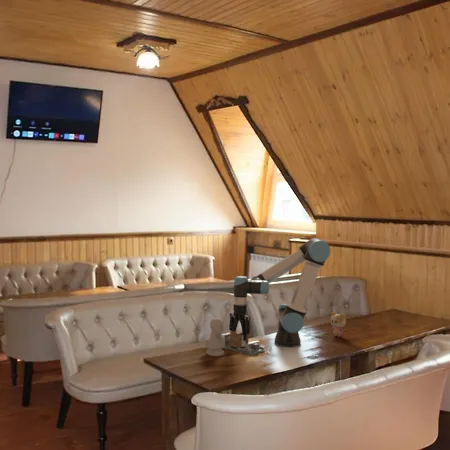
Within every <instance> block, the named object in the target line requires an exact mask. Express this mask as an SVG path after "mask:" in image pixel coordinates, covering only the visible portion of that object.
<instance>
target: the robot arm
mask: <svg viewBox="0 0 450 450" xmlns="http://www.w3.org/2000/svg"><path fill="white" fill-rule="evenodd" d="M330 255H331V248H330V246H329V244H328V243H327V242H326V241H325V240H323V239H320V238H317V237H313V238H311V239H308V240H307V241H306V242H304V243H303V244H301V245H300V246H299V247H297V250H296V251H294V252H292V253H291V254H290V255H287V256H286V257H285V258H283V259H281V260H280V261H278V262H277V263H275V264H274V265H272V266H271V267H269V268H267V269H266V270H264V271H263V272H261V273H259V274H257V275H256V276H255V275H254V276H252V277H251V278H250V279H248V276H245V275H244V276H243V275H237V276H235V277H234V281H233V305H232V306H233V309H232V310H233V312H230V313H229V327H228V330H229V331H230V332H231V331H235V330H238V329H237V328H238V324H239V323H240V326H241V329H242V332H243V334H242V340H241V346H242V347H243V346H245V343H246V340H247V334H249V335H250V333H251V332H250V331H251V329H250V320H251V316H249V315H247V311H248V309H247V308H248V306H247V304H248V295H268V294H270V293H269V292H270V284H271V283H272V282H274V281H275V280H277V279H278V278H280V277H282V276H283V275H285V274H287V273H288V272H290V271H291V270H293V269H295V268H296V267H298V266H300V265H301V264H303V263H304V265H303V268H302V270H301V273H300V276H299V279H298V281H297V284H296V286H295V289H294V291H293V295H292V297H291V300H290V302H289V303H287V304H286V303H283V304H279V306H278V321H277V322H278V324H277V331H276V334H275V336H274V344H276V345H278V346H281V347H288V348H289V347H291V348H292V347H298V346H300V345H301V342H302V340H301V338H300V337H301V336H300V333H299V332H300V331H301V330H302V329H303V327H304V324H305V323H304V320H305V317H306V315H307V310H306V307H307V304H308V300H309V298H310V296H311V293H312V289H313V287H314V285H315V282H316V279H317V276H318V274H319V271H320V269H321V268H323V267H324V265H325V263H326V261H327V260H328V259H329V257H330Z"/></svg>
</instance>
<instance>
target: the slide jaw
mask: <svg viewBox="0 0 450 450" xmlns="http://www.w3.org/2000/svg"><path fill="white" fill-rule="evenodd" d="M260 344H261V343H260V341H259V340H253V341H250V342H249V341H248V343H245V349H246V350H250V351H251V350H259V346H260Z"/></svg>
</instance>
